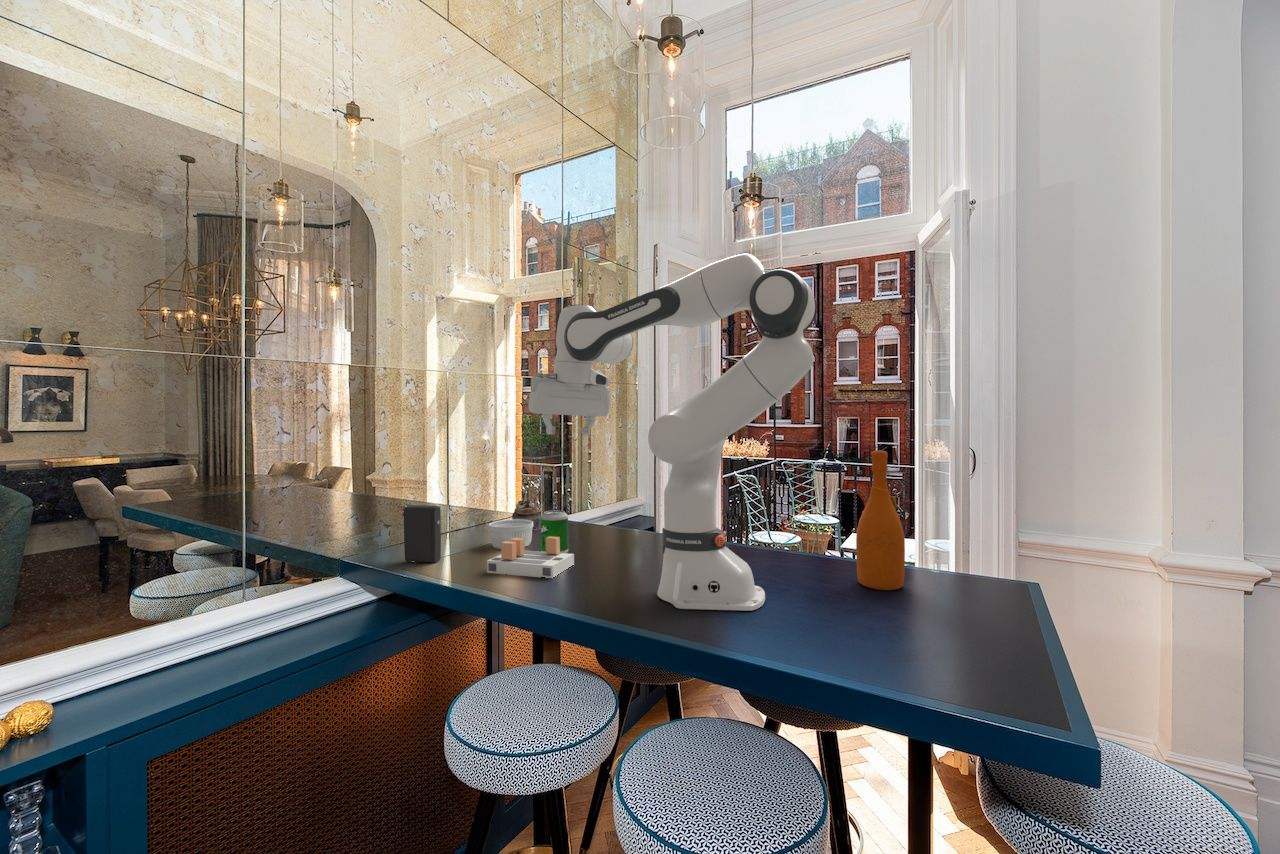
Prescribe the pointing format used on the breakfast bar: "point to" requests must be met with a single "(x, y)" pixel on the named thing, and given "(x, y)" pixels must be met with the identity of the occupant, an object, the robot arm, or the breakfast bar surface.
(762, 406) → the robot arm
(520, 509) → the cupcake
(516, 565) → the white base
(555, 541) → the slider far
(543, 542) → the soda can
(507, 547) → the slider near
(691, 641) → the breakfast bar surface
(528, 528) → the ramekin
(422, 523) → the card reader
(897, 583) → the wine bottle
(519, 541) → the slider middle
